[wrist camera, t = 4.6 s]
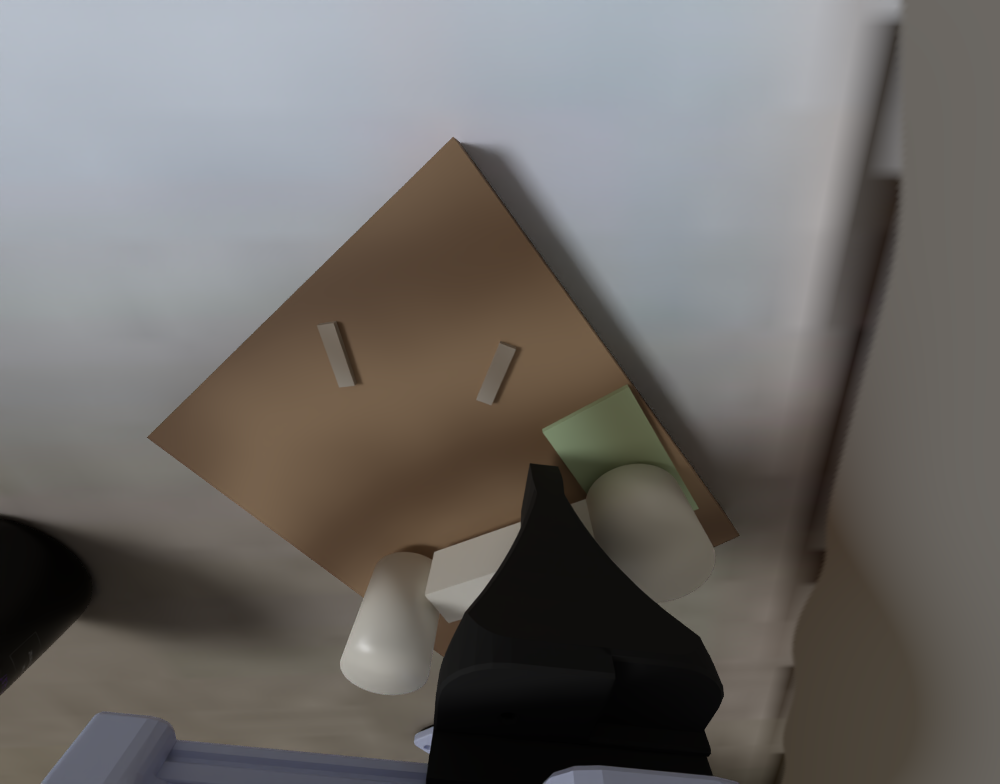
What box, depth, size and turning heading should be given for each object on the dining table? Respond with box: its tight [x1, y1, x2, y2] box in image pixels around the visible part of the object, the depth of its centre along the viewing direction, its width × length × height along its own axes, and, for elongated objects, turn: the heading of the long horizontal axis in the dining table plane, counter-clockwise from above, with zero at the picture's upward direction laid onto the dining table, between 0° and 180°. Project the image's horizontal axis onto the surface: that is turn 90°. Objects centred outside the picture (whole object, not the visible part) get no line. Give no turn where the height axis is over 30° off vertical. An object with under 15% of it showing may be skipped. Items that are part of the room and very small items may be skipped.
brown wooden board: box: [147, 137, 740, 657], centre depth 15 cm, size 16×14×1 cm
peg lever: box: [340, 464, 716, 695], centre depth 13 cm, size 12×3×3 cm, turn 117°
